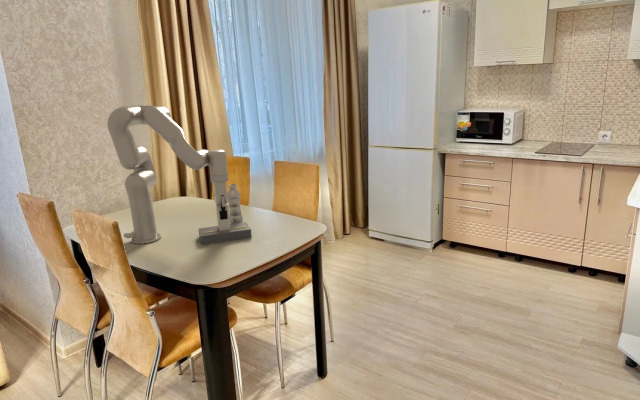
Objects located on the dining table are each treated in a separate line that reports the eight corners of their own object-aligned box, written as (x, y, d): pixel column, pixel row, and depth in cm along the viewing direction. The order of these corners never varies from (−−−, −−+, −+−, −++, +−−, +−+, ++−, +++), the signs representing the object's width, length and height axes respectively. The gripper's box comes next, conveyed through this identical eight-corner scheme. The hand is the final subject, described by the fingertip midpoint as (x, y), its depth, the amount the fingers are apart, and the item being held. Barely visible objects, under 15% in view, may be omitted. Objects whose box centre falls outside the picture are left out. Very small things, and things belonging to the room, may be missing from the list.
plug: (219, 232, 198) (216, 197, 194) (218, 229, 202) (214, 195, 198) (230, 230, 200) (227, 196, 196) (229, 227, 204) (226, 194, 200)
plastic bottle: (240, 226, 217) (236, 186, 212) (227, 225, 218) (223, 186, 213) (245, 222, 223) (241, 183, 218) (232, 221, 225) (228, 183, 220)
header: (201, 245, 193) (200, 235, 192) (199, 236, 204) (198, 227, 203) (251, 237, 200) (250, 228, 199) (246, 229, 211) (245, 221, 210)
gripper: (208, 175, 201) (212, 214, 206) (212, 182, 186) (217, 224, 191) (225, 173, 204) (228, 212, 208) (230, 180, 188) (234, 221, 193)
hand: (223, 217), depth 199 cm, fingers closed on plug, 4 cm apart
